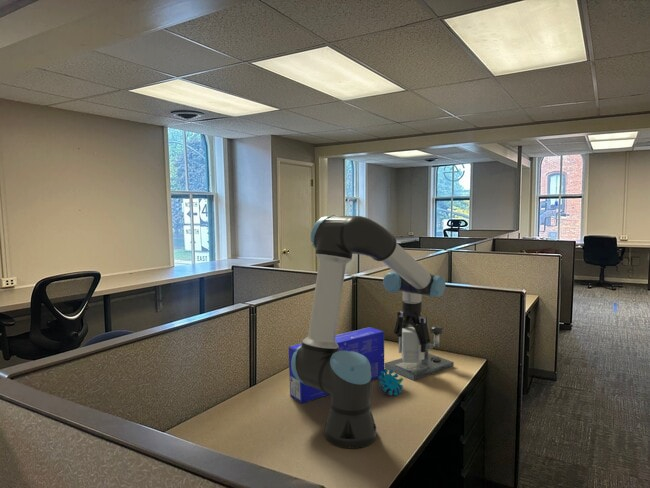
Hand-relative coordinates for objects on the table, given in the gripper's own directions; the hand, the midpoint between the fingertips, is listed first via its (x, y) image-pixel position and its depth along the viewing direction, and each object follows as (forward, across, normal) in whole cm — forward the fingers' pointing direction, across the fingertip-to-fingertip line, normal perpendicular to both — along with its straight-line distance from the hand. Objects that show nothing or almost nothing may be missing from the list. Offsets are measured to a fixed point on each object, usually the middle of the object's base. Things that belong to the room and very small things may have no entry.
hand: (411, 355), depth 172 cm
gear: (+7, -9, +20) cm, 23 cm away
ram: (-1, -1, -14) cm, 14 cm away
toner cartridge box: (+7, +6, +32) cm, 33 cm away
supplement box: (+2, 0, 0) cm, 2 cm away
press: (+7, +1, -6) cm, 9 cm away
